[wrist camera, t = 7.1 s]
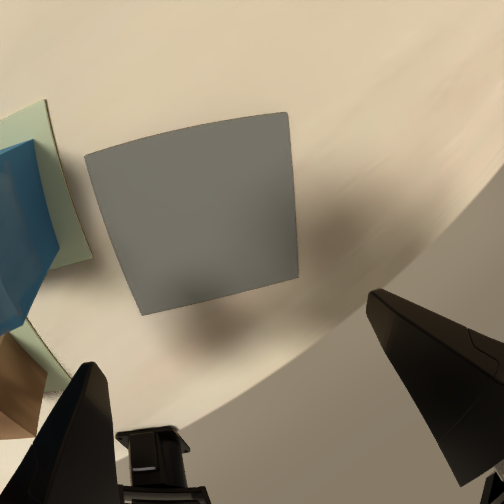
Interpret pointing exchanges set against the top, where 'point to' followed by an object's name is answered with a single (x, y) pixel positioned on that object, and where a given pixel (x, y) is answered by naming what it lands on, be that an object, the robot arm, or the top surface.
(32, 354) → the code mat
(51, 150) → the code mat
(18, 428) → the walnut block
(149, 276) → the slate coaster
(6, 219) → the perfume bottle
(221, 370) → the top surface
